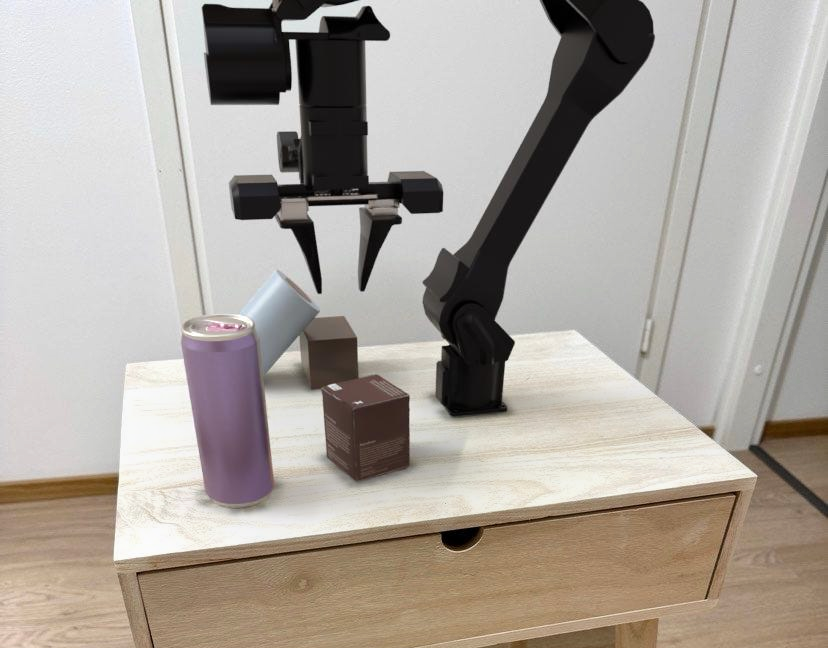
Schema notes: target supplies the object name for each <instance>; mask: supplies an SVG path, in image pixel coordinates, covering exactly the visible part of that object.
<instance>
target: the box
mask: <svg viewBox="0 0 828 648" xmlns="http://www.w3.org/2000/svg"><path fill="white" fill-rule="evenodd" d="M321 394H322V409H323V410H322V411H323V425H324V437H325V450H326V451H325V453H326V458H327V459H328V460H329V461H331V462H332V463H333V464H334V465H335V466H337V467H338V468H339V469H340V470H341V471H343V472H344V473H345V474H346V475H347V476H349V477H350V478H351V479H352V480H354V482H361V481H364V480H367V479H372V478H374V477H378V476H382V475H384V474H387V473H391V472H394V471H398V470H401V469H405V468H408V467H409V466H410V465H411V463H410V462H411V461H410V460H411V459H410V453H411V452H410V444H411V443H410V442H411V441H410V439H411V438H410V437H411V436H410V435H411V433H410V430H411V429H410V425H411V423H410V422H411V421H410V420H411V419H410V418H411V416H410V414H411V413H410V410H411V408H410V401H411V400H410V399H411V395H410V394H409V393H408V392H406V391H404V390H403V389H402V388H400V387H398V386H396V385H395V384H394V383H392V382H390V381H388V380H387V379H386V378H384V377H382V376H380V375H379V374H377V373H375V374H372V375H367V376H362V377H358V379H353V380H349V381H344V382H340V383H335V384H331V385H328V386H324V387H322V388H321Z"/></svg>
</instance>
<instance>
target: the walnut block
mask: <svg viewBox="0 0 828 648" xmlns="http://www.w3.org/2000/svg"><path fill="white" fill-rule="evenodd" d="M298 339H299V350H300V364H301V367H302V370H303V373H304V375H305V378H306V380H307V383H308V385H309V389H310V390H319V389H322V387H324V386H328V385H331V384H335V383H340V382H344V381H349V380H353V379H358V378H359V354H358V353H359V350H358V349H359V348H358V347H359V346H358V336H357V335H356V333H355V331H354V329H353V328H352V326H351V325H350V323H349V321H348V320H347V318H346V316H345V315H336V316H322V317H315V318H314V319H313V320H312V321H311V322H310V324H309V325H308V326H307V327H306V328H305V329H304V330H303V332H302V333H301V334H300V335H299V336H298Z"/></svg>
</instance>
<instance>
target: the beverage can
mask: <svg viewBox="0 0 828 648" xmlns="http://www.w3.org/2000/svg"><path fill="white" fill-rule="evenodd" d="M180 331H181V338H180V345H181V350H182V351H181V352H182V358H183V363H184V364H183V365H184V370H185V376H186V383H187V389H188V395H189V401H190V406H191V412H192V419H193V426H194V430H195V437H196V443H197V449H198V456H199V463H200V468H201V473H202V480H203V486H204V492H205V494H206V495H207V496H208V498H209V499H210V500H211V501H212V502H213V503H215V504H217V505H218V506H221V507H224V508H235V509H239V508H247V507H251V506H254V505H258V504H260V503H262V502H264V501H266V499H267V498H268V497H269V496H270V495H271V493H272V491H273V489H274V487H275V477H274V468H273V457H272V449H271V439H270V438H271V437H270V430H269V420H268V410H267V409H268V408H267V401H266V400H267V399H266V390H265V382H264V381H265V380H264V376H263V371H262V361H261V352H260V342H259V336H258V333H257V331H256V329H255V322H254V321H253V320H252V319H251V318H249V317H246V316H242V315H238V314H235V313H211V314H204V315H199V316H196V317H192V318H190V319H188V320H186V321H184V322H183V323H182V324H181V326H180Z"/></svg>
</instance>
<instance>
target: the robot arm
mask: <svg viewBox="0 0 828 648" xmlns="http://www.w3.org/2000/svg"><path fill="white" fill-rule="evenodd" d="M358 1H360V0H272V1H271V3H270V5H269V7H267V8H266V7H263V8H262V7H231V6H228V5H227V6H226V5H224V4H221V3H220V4H219V3H203V5H202V6H201V14H202V25H203V37H204V47H205V48H204V49H205V52H203V60H204V69H205V75H206V84H207V91H208V99H209V104H210V106H279V105H280V101H281V98H280V97H281V93H283V94H284V93H287V92H291V91H292V84H293V72H292V71H293V69H292V58H291V57H292V56H291V46H290V41H294V42H295V57H296V74H297V89H298V90H297V91H298V104H299V105H298V106H299V107H298V108H299V123H300V138H299V133H298V132H297V131H295V130H294V131H277V132H276V145H277V160H278V168H279V172H280V173H281V174H282V173H298V180H299V183H294V184H293V183H285V184H279V183H278V181H277V180H276V178H275V177H274V175H273V174H241V175H240V174H238V175H237V174H236V175H233V176H232V178H231V179H230V181H229V182H228V189H229V199H230V207H231V211H232V214H233V217H234V219H235V220H239V221H254V220H256V221H259V220H273V219H274V220H275V221H276V223H277V224H278V226H279V228H280V229H281V230H282V229H283V230H291V232H292V233H293V236H294V237H295V240H296V241H297V244H298V246H299V248H300V251H301V253H302V256H303V258H304V262H305V264H306V267H307V269H308V272H309V275H310V278H311V281H312V283H313V286H314V289H315V292H316V294H317V295H322V294H323V278H322V277H323V276H322V269H321V265H320V256H319V249H318V243H317V235H316V229H315V222H314V221H313V219H312V218H311V216H310V215H309V213H308V212H309V211H310V210H309V207H333V206H360V205H363V206H364V207H363V206H362V207H358V213H359V225H360V226H359V227H360V229H359V231H360V233H359V246H358V247H359V248H358V260H357V262H358V263H357V285H358V286H357V287H358V291H360V292H365V291H366V288H367V285H368V283H369V281H370V277H371V275H372V272H373V269H374V267H375V264H376V261H377V258H378V255H379V253H380V251H381V249H382V247H383V245H384V243H385V241H386V240H387V237H388V235H389V234H390V231H391V229H392V228H393V226H398V225H401V224H402V223H403V217H402V216H401V215H400V214H399V209H400V204H401V205H402V206H403V208H405V209H406V210H407V211H408V213H409V214H411V215H423V214H425V215H426V214H441V213H443V212H444V188H443V183H441V181H440V180H439V179H438V177H436V176H434V175H432V174H430V173H429V172H427V171H425V170H408V171H407V170H406V171H405V170H404V171H389V172H388V176H387V177H388V178H387V181H370V175H369V172H368V171H369V169H368V167H369V165H368V163H369V162H368V136H369V124H368V123H369V121H368V120H367V119H368V117H367V114H368V113H367V111H368V110H367V108H368V107H367V61H366V59H367V58H366V57H367V56H366V55H367V54H366V42H387V41H389V40H390V38H391V32H390V30H389V29H387V27H386V26H385V25H383V23H382V22H381V21H380V20H379V19H378V18H377V16H376V14H375V12H374V10H373V8H372V6H371V5H364V6H361V8H360V9H359V11H358V12H357V14H356V16H345V15H342V16H341V15H339V16H338V15H322V16H321V18H320V21H319V25H318V26H319V27H318V31H317V32H315V31H312V32H311V31H304V32H303V31H283V29H282V28H283V27H282V26H283V25H282V23H283V22H293V21H294V22H295V21H304V20H307V19H308V18H309V17H310V16H312V15H313V14H314V13H315V12H316V11H318V9H320V8H329V7H337V6H343V5H348V4H351V3H354V2H358ZM539 3H540V5H541V7H542V9H543V11H544V13H545V16H546V19H547V20H548V21H549V23H550V25H551V26H552V28H553V29H554V30H555V31H556V32H557V34H558V35H559V36H560V39H559V42H558V45H557V47H556V50H555V53H554V55H553V58H552V62H551V68H550V75H549V81H548V87H547V92H546V95H545V98H544V100H543V102H542V104H541V106H540V108H539V110H538V112H537V114H536V116H535V117H534V119H533V121H532V123H531V125H530V126H529V128H528V130H527V132H526V134H525V136H524V137H523V140H522V141H521V143H520V145H519V147H518V148H517V151H516V153H515V154H514V156H513V158H512V160H511V162H510V164H509V165H508V168H507V169H506V171H505V173H504V175H503V177H502V178H501V180H500V182H499V183H498V185H497V188H496V190H495V191H494V193H493V195H492V197H491V199H490V201H489V202H488V205H487V207H486V208H485V210H484V212H483V214H482V216H481V218H480V219H479V221H478V224H476V227H475V229H474V230H473V232H472V234H471V236H470V237H469V239H468V241H467V242H466V243H464V245H462V246H461V247H460V248H459V249H458V250H456V251H455V252H454V253H453V254H452V252H450V251H449V250H448V249H447V248H445V247H442V248H441V249H440V251H439V252H438V254H437V258H436V260H435V264H434V266H433V268H432V270H431V271H430V273H429V275H428V276H426V278H424V280H422V282H421V283H422V285H423V286H424V287H425V290H424V292H423V295H422V302H421V303H422V307H423V310H424V314H425V316H426V317H427V319H428V320H429V322H430V323H431V324H432V325H433V326H434V327H435V328H436V330H437V331H438V332H439V333H440V336H441V338H442V339H443V340H445V341H446V342H447V345H442V346H441V355H440V358H441V359H440V360H437V361H436V362H435V363H436V365H435V366H436V367H435V393H434V394H435V395H434V396H435V397H436V399H437V400H438V402H439V403H440V405H441V406H442V407H443V408H444V409H445V411H446V412H447V414H448V415H449V416H450V417H455V418H456V417H465V416H474V415H485V414H486V415H487V414H496V413H506V412H507V411H508V405H507V404H506V403H505V402H504V401H503V393H504V383H505V370H506V362H508V361H509V359H510V356H511V354H512V352H513V349H514V347H515V344H516V342H515V339H514V338H513V337H512V336H510V334H509V333H507V331H505V329H504V328H503V327H502V326H501V325H500V324H499V322H497V321H496V320H497V319H496V318H497V316H498V313H499V311H500V308H501V306H502V303H503V300H504V296H505V291H506V285H507V278H508V272H509V268H510V265H511V262H512V261H513V259H514V258H515V256H516V254H517V252H518V250H519V248H520V247H521V245H522V243H523V241H524V239H525V237H526V236H527V234H528V232H529V231H530V229H531V227H532V226H533V224H534V222H535V220H536V218H537V216H538V215H539V213H540V211H541V209H542V208H543V206H544V204H545V202H546V201H547V199H548V197H549V195H550V193H551V192H552V190H553V188H554V186H555V185H556V183H557V182H558V179H559V178H560V176H561V174H562V173H563V171H564V169H565V167H566V165H567V164H568V162H569V160H570V158H571V156H572V154H573V153H574V152H575V149H576V148H577V146H578V145H579V143H580V141H581V139H582V137H583V135H584V133H585V132H586V131H587V128H588V127H589V125H590V123H592V121H593V119H595V117H597V116H598V115H599V114H600V113H601V112H602V111H603V110H605V108H607V107H608V106H609V105H610V104H611V103H612V102H613V101H615V100H616V99H617V98H618V97H619V96H620V95H622V93H623V92H624V91H625V89H626V88H627V87H628V86H629V84H630V83H631V81H632V80H633V79H634V78H635V76H637V74H638V73H639V71H640V70H641V69H642V67H643V66H644V65H645V64H646V62H647V60H648V59H649V57H650V56H651V52H652V50H653V48H654V44H655V39H656V34H655V33H654V31H655V30H654V29H655V28H654V20H653V17H652V14H651V11H650V9H649V8H648V7H647V6H646V4H645V3H644V2H643V1H641V0H539Z"/></svg>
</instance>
